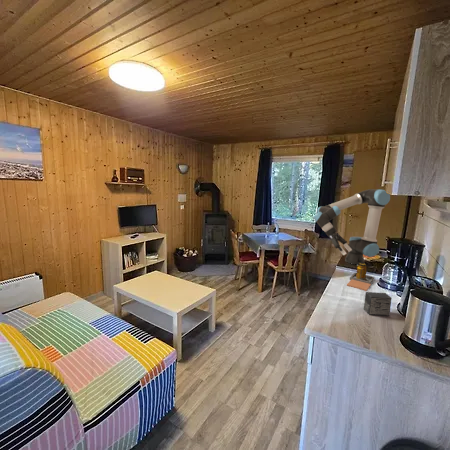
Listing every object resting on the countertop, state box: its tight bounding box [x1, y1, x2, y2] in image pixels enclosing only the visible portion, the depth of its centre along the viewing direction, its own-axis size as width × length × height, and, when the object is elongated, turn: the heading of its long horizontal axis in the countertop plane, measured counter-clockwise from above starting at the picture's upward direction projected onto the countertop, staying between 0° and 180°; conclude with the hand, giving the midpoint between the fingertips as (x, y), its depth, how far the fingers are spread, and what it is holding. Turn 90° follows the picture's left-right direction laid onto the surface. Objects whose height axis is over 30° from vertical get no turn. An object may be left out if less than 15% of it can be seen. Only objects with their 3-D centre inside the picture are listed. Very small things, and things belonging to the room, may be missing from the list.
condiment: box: [355, 262, 370, 281], centre depth 171 cm, size 7×8×12 cm
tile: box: [346, 279, 372, 292], centre depth 162 cm, size 12×12×1 cm
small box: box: [363, 291, 393, 317], centre depth 127 cm, size 11×6×10 cm, turn 84°
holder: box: [349, 272, 375, 285], centre depth 172 cm, size 13×13×2 cm
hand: (347, 252), depth 176 cm, fingers open, 13 cm apart
